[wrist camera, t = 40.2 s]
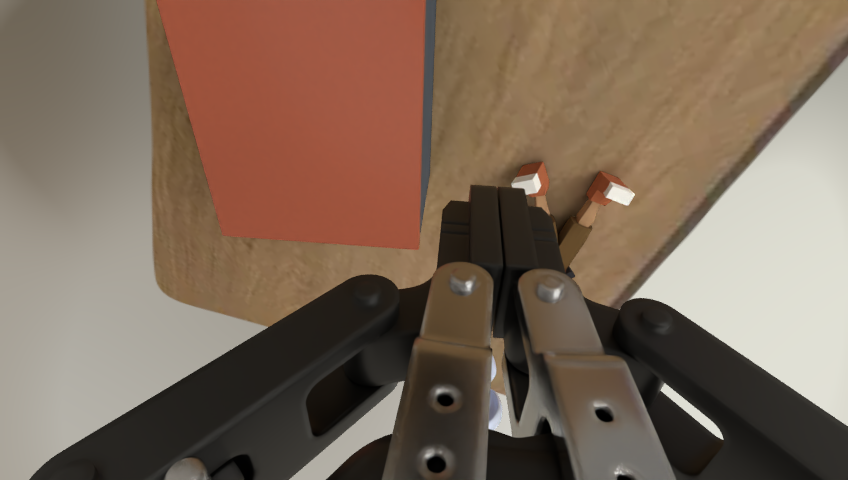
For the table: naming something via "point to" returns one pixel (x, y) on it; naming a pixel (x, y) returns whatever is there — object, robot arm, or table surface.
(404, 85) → the lid
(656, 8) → the table surface
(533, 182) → the character figurine
